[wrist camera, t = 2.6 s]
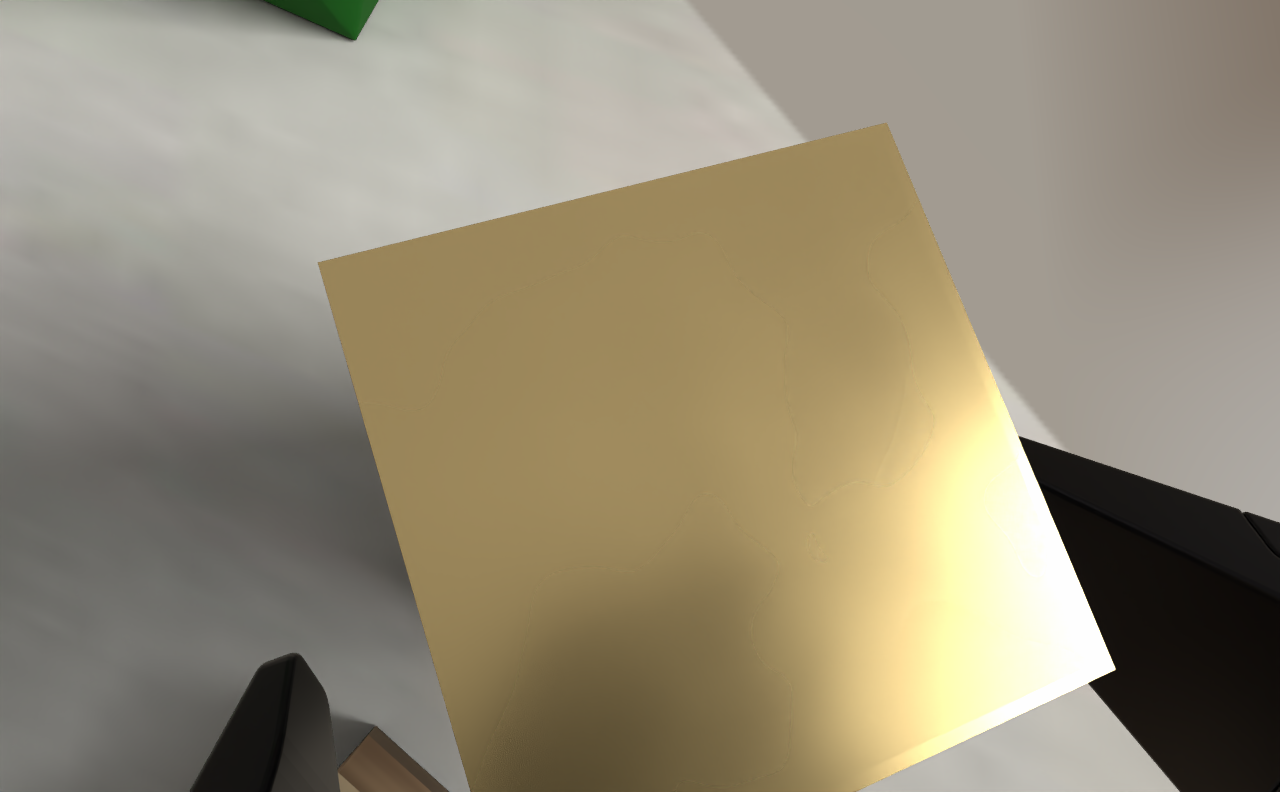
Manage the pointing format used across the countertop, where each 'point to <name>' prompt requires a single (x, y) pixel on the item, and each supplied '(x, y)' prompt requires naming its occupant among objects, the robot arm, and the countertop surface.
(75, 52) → the countertop surface
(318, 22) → the milk carton
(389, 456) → the tea canister
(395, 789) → the caddy
